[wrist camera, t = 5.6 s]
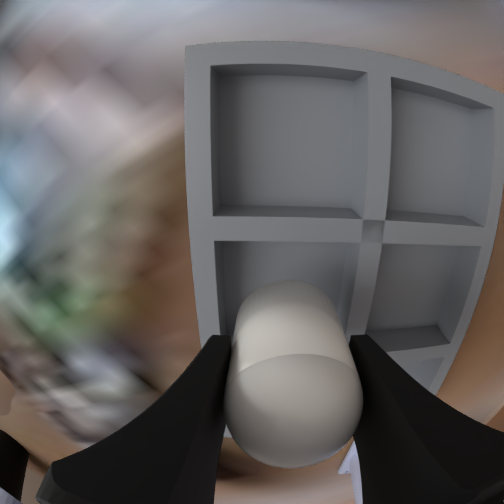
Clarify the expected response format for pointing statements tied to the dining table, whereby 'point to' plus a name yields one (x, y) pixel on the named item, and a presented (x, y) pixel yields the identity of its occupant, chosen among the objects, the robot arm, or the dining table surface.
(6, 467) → the vase
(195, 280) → the grey compartment tray
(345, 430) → the egg
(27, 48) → the dining table surface
